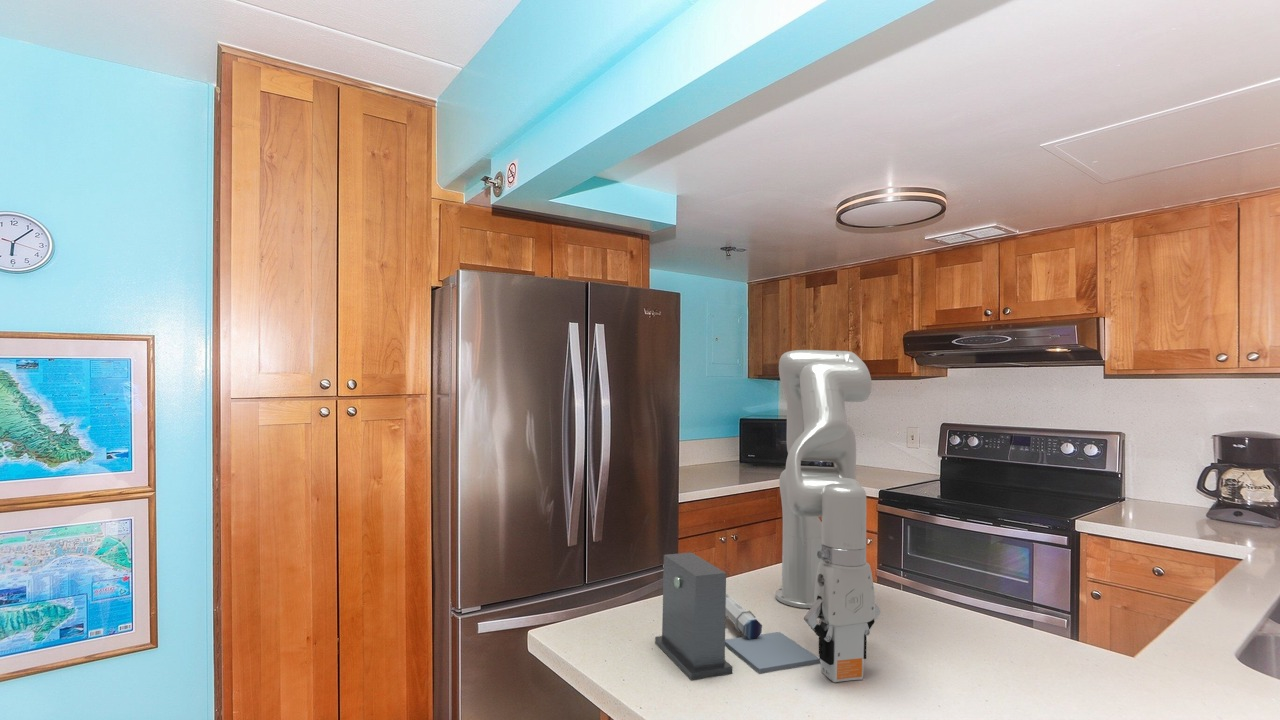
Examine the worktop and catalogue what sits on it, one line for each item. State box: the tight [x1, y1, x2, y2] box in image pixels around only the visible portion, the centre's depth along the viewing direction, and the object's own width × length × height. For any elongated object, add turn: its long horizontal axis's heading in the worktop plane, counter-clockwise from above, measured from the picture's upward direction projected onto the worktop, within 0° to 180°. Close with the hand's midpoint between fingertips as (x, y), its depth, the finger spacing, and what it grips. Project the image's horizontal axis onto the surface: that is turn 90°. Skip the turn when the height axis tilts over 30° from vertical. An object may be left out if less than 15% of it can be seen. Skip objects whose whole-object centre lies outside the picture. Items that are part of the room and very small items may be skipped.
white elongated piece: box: [726, 593, 763, 640], centre depth 132 cm, size 5×7×25 cm
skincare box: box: [820, 623, 865, 683], centre depth 108 cm, size 6×4×12 cm
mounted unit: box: [654, 552, 733, 681], centre depth 114 cm, size 8×16×17 cm, turn 21°
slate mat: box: [725, 631, 821, 674], centre depth 116 cm, size 13×13×1 cm
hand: (842, 657), depth 108 cm, fingers closed on skincare box, 6 cm apart
